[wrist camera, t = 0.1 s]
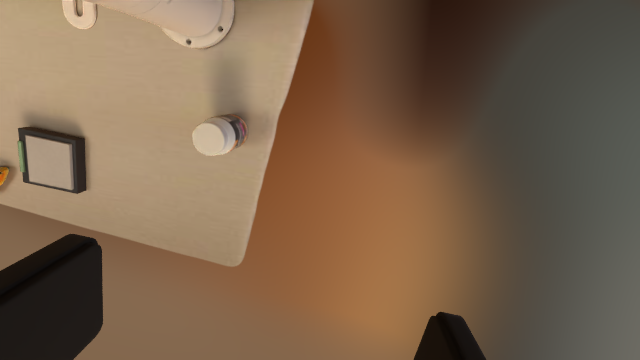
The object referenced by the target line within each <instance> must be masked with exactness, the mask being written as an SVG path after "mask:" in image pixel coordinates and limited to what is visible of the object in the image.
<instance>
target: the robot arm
mask: <svg viewBox="0 0 640 360" xmlns="http://www.w3.org/2000/svg"><path fill="white" fill-rule="evenodd" d="M83 1H87V2H91V3H95V4H98V5H101V6H104V7H107V8H110V9H113V10H116V11H119V12H122V13H124V14H127V15H130V16H133V17H135V18H138V19H141V20H144V21H147V22H149V23H152V24H155V25H158V26H160V28H161V29H162V30H163V31H164V33H165V34H166V35H167V36H168V37H170V38H171V39H172V40H173V41H175V42H177V43H178V44H180V45H183V46H186V47H189V48H195V49H202V48H208V47H210V46H213V45H215V44H216V43H218V42H219V41H221V40H222V39H223V38H224V37H225V36H226V34H227V32H228V31H229V29H230V27H231V24H232V22H233V17H234V6H235V4H234V0H83ZM222 28H223V31H221V29H222ZM190 41H191V44H190ZM102 324H103V296H102V249H101V246H100V245H98V243H97V241H96V239H94V238H90V237H85V236H80V235H76V234H69V235H66V236H64V237H63V238H61V239H59V240H57V241H55V242H53V243H52V244H50V245H48V246H46V247H44V248H42V249H40V250H39V251H37V252H35V253H33V254H31V255H29V256H27V257H25V258H24V259H22V260H20V261H18V262H16V263H14V264H12V265H11V266H9V267H7V268H5V269H3V270H1V271H0V360H73V359H74V358H75V357H76V356H77V355H78V354H79V353H80V352H81V351H82V350H83V349H84V348H85V347H86V346H87V345H88V344H89V343H90V342H91V341H92V340H93V339H94V338H95V337H96V335H97V334H98V333H99V331H100V329H101V327H102ZM414 360H486V358H485V357H484V355H483V353H482V351H481V349H480V348H479V346H478V344H477V342H476V340H475V338H474V337H473V335H472V333H471V331H470V329H469V328H468V326H467V324H466V322H465V320H464V319H463V318H462V317H461V316H458V315H453V314H449V313H444V312H439V313H438V314H437V315H436V316H431V317H430V319H429V322H428V324H427V327H426V329H425V332H424V335H423V337H422V340H421V342H420V344H419V347H418V350H417V352H416V355H415V357H414Z"/></svg>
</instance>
